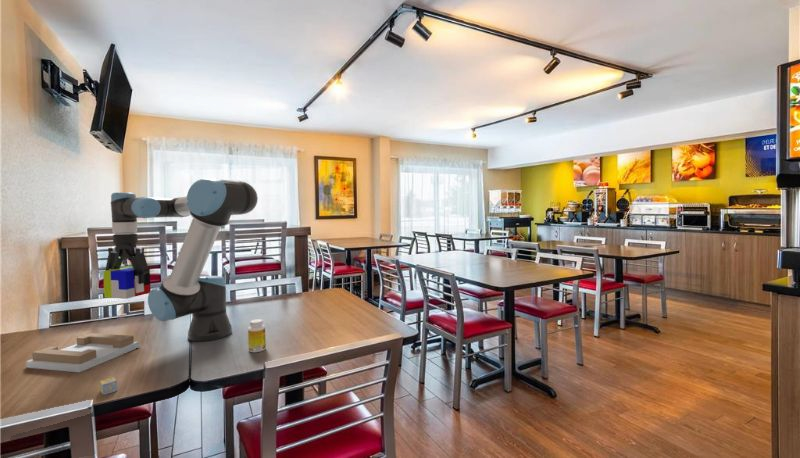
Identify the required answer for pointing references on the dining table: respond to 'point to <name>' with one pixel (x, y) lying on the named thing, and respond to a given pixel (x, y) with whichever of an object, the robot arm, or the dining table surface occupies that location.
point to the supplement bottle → (256, 336)
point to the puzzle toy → (123, 283)
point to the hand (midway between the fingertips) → (128, 291)
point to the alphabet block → (108, 386)
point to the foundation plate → (100, 358)
